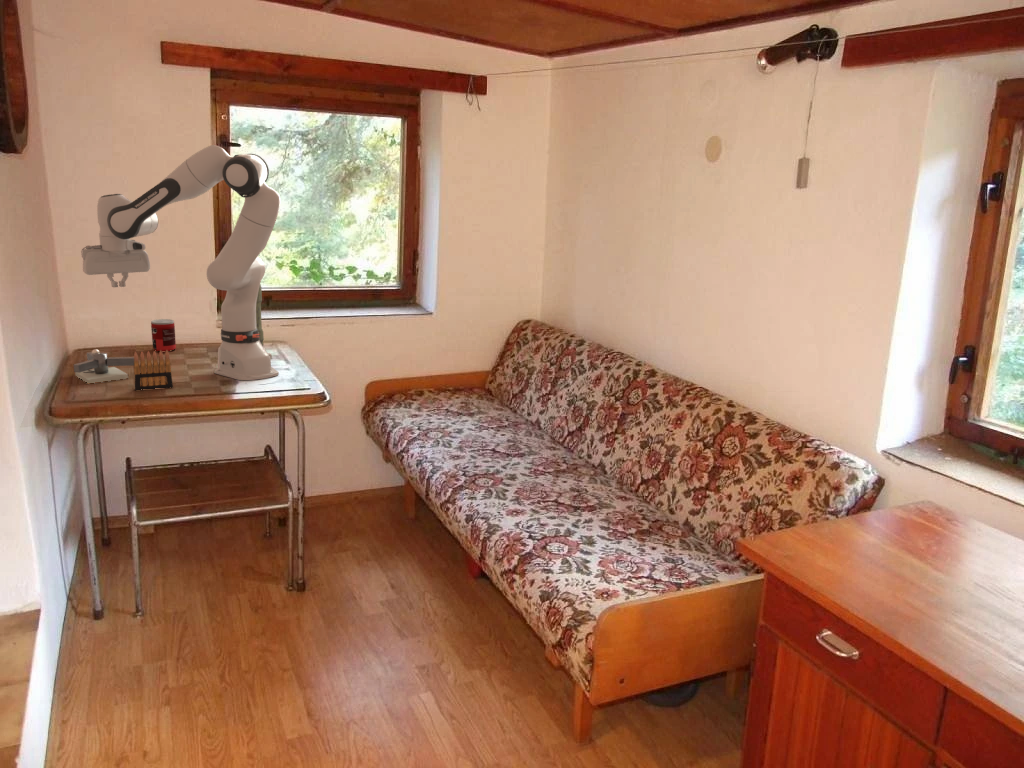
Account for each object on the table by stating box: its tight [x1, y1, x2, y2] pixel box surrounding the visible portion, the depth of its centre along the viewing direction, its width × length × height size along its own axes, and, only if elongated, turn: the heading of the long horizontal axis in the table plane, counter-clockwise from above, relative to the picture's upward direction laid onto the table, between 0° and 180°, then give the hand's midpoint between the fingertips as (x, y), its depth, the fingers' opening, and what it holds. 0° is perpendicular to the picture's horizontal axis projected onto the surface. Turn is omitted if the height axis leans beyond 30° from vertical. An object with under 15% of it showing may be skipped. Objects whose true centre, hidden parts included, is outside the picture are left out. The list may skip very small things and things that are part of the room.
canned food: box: [150, 318, 177, 352], centre depth 300 cm, size 8×8×11 cm
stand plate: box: [74, 366, 129, 384], centre depth 260 cm, size 12×12×2 cm
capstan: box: [73, 348, 134, 374], centre depth 261 cm, size 16×18×7 cm
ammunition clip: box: [133, 350, 174, 391], centre depth 249 cm, size 11×2×12 cm, turn 118°
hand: (118, 286), depth 269 cm, fingers closed
